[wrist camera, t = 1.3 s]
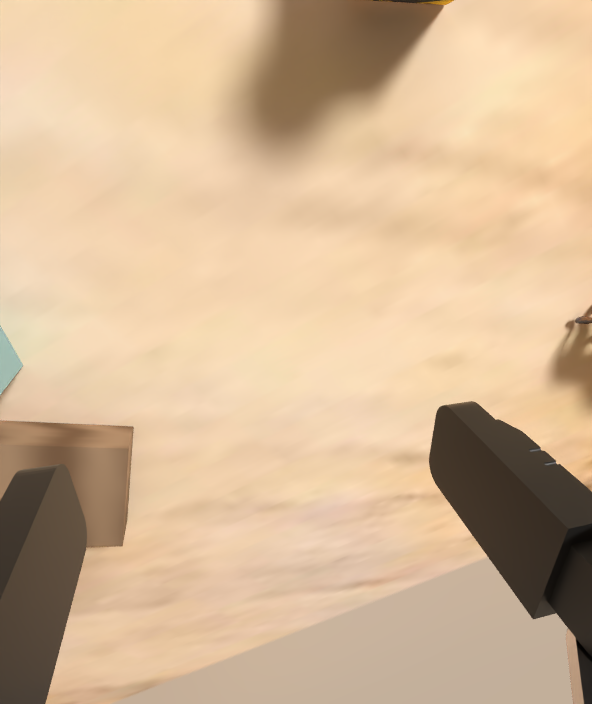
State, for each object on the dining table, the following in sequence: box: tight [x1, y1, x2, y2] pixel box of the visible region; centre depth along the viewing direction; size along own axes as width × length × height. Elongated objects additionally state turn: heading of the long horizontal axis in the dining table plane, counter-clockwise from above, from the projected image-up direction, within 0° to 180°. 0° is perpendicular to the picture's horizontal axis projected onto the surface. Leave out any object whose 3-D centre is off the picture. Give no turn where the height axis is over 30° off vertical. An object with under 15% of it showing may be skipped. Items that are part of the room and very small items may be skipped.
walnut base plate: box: [0, 421, 133, 547], centre depth 36 cm, size 11×11×3 cm
